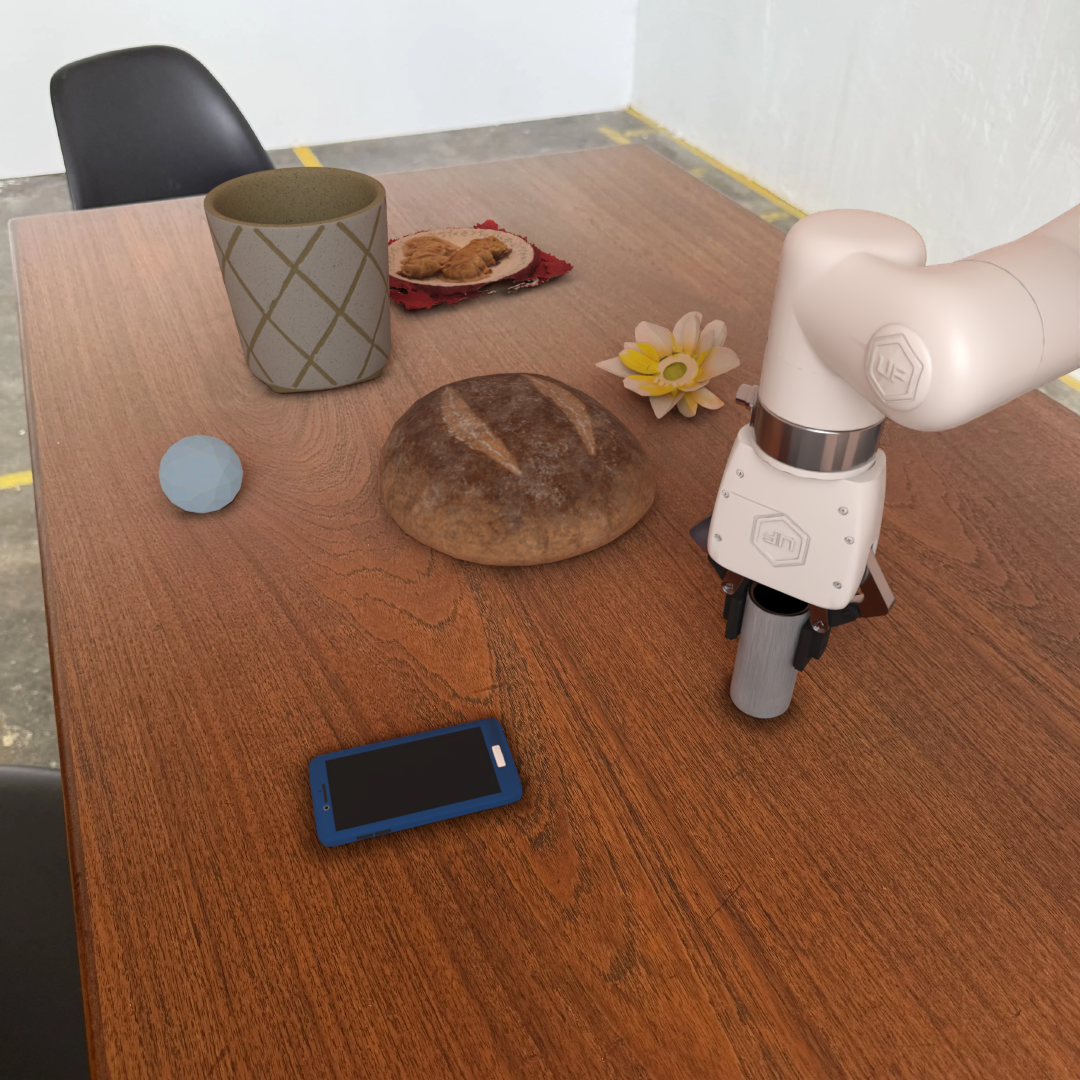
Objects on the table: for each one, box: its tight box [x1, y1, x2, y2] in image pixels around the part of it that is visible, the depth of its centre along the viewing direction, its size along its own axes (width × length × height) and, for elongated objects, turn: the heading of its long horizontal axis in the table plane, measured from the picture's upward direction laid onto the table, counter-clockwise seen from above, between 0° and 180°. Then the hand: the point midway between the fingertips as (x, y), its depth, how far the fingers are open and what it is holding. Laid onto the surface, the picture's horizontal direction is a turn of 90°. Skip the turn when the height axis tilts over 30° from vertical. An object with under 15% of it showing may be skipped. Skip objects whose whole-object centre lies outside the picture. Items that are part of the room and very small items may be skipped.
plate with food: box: [388, 219, 574, 311], centre depth 137 cm, size 24×26×4 cm
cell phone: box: [308, 717, 524, 848], centre depth 67 cm, size 7×14×1 cm, turn 107°
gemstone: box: [157, 434, 244, 514], centre depth 93 cm, size 8×8×5 cm
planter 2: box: [729, 581, 810, 719], centre depth 70 cm, size 4×4×10 cm
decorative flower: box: [595, 310, 741, 419], centre depth 106 cm, size 15×11×10 cm
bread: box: [378, 372, 657, 567], centre depth 91 cm, size 26×27×10 cm
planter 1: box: [203, 166, 392, 394], centre depth 109 cm, size 19×19×20 cm
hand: (771, 641), depth 69 cm, fingers closed on planter 2, 4 cm apart
